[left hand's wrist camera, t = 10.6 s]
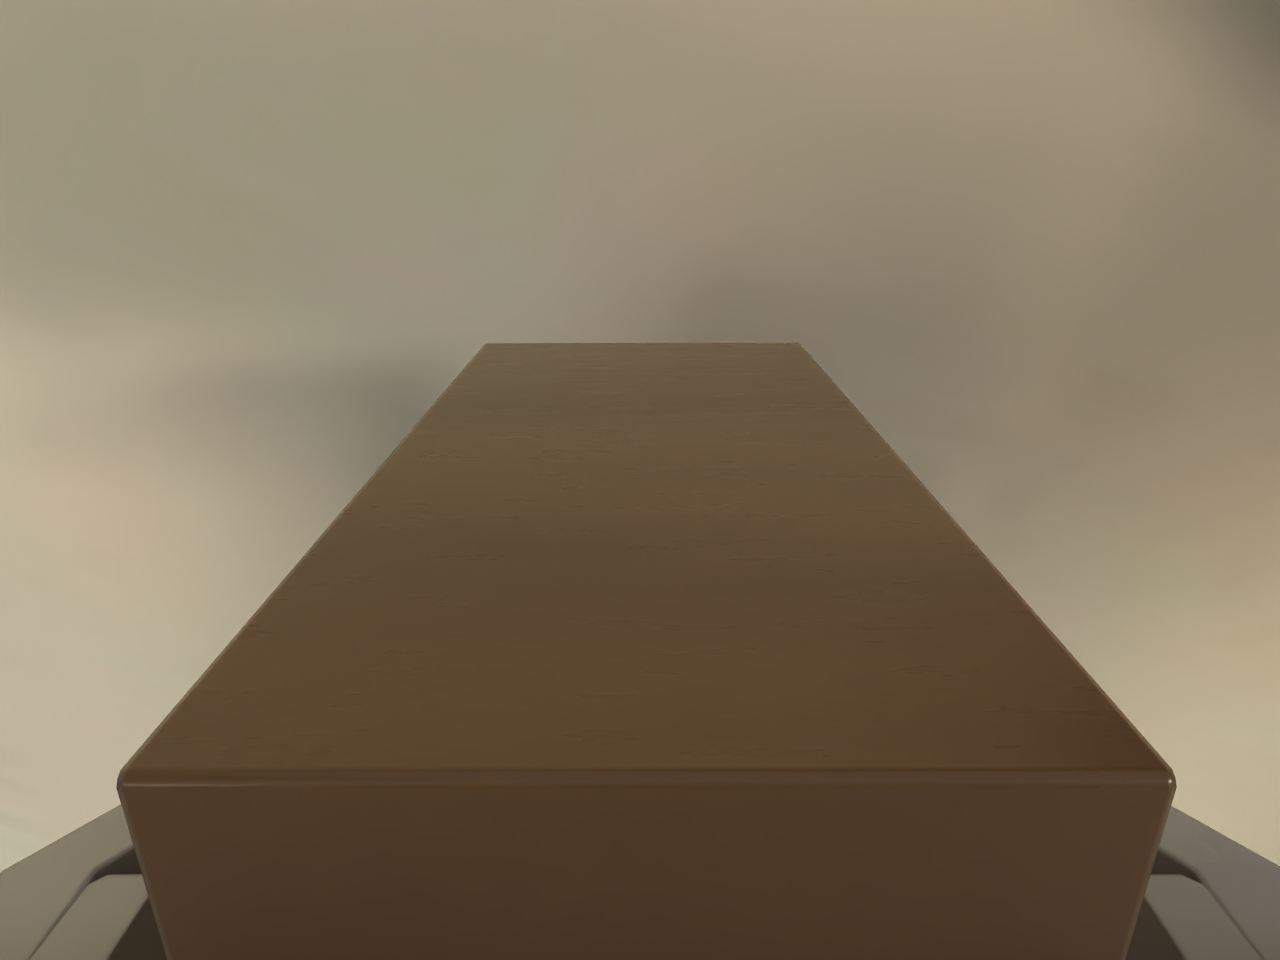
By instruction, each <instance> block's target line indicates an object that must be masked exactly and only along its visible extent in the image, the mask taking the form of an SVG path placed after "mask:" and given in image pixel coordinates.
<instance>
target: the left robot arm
mask: <svg viewBox="0 0 1280 960" xmlns="http://www.w3.org/2000/svg"><path fill="white" fill-rule="evenodd" d="M0 960H167V958H166V955H165V951H164V948H163V945H162V941H161V938H160V934H159V931H158V927H157V924H156V921H155V917H154V914H153V910H152V907H151V904H150V900H149V897H148V893H147V890H146V887H145V883H144V880H143V876H142V873H141V870H140V866H139V863H138V859H137V856H136V852H135V849H134V846H133V842H132V839H131V835H130V832H129V829H128V825H127V822H126V818H125V815H124V812H123V808H122V805H119V806H117V807H116V808H114V809H112V810H110V811H108V812H107V813H105V814H103V815H101V816H100V817H98V818H96V819H94V820H92V821H91V822H89V823H87V824H85V825H84V826H82V827H80V828H78V829H76V830H75V831H73V832H71V833H69V834H68V835H66V836H64V837H62V838H60V839H59V840H57V841H55V842H53V843H52V844H50V845H48V846H46V847H44V848H43V849H41V850H39V851H37V852H36V853H34V854H32V855H30V856H28V857H27V858H25V859H23V860H21V861H20V862H18V863H16V864H14V865H12V866H11V867H9V868H7V869H5V870H3V871H2V872H1V873H0ZM1125 960H1280V866H1278V865H1276V864H1274V863H1272V862H1271V861H1269V860H1267V859H1265V858H1264V857H1262V856H1260V855H1258V854H1256V853H1255V852H1253V851H1251V850H1249V849H1247V848H1246V847H1244V846H1242V845H1240V844H1238V843H1237V842H1235V841H1233V840H1231V839H1229V838H1228V837H1226V836H1224V835H1222V834H1221V833H1219V832H1217V831H1215V830H1213V829H1212V828H1210V827H1208V826H1206V825H1204V824H1203V823H1201V822H1199V821H1197V820H1195V819H1194V818H1192V817H1190V816H1188V815H1187V814H1185V813H1183V812H1181V811H1179V810H1178V809H1176V808H1174V807H1172V806H1171V807H1170V811H1169V814H1168V818H1167V821H1166V824H1165V828H1164V831H1163V834H1162V838H1161V841H1160V845H1159V848H1158V851H1157V855H1156V858H1155V861H1154V865H1153V868H1152V872H1151V875H1150V878H1149V882H1148V885H1147V888H1146V892H1145V895H1144V899H1143V902H1142V905H1141V909H1140V912H1139V915H1138V919H1137V922H1136V926H1135V929H1134V932H1133V936H1132V939H1131V942H1130V946H1129V949H1128V953H1127V956H1126V959H1125Z"/></svg>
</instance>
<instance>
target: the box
mask: <svg viewBox="0 0 1280 960" xmlns="http://www.w3.org/2000/svg"><path fill="white" fill-rule="evenodd" d="M117 791H118V795H119V798H120V801H121V805H122V808H123V812H124V815H125V818H126V822H127V825H128V829H129V832H130V835H131V839H132V842H133V846H134V849H135V852H136V856H137V859H138V863H139V866H140V870H141V873H142V876H143V880H144V883H145V887H146V890H147V893H148V897H149V900H150V904H151V907H152V910H153V914H154V917H155V921H156V924H157V927H158V931H159V934H160V938H161V941H162V945H163V948H164V951H165V955H166V958H167V960H1125V959H1126V956H1127V953H1128V949H1129V946H1130V942H1131V939H1132V936H1133V932H1134V929H1135V926H1136V922H1137V919H1138V915H1139V912H1140V909H1141V905H1142V902H1143V899H1144V895H1145V892H1146V888H1147V885H1148V882H1149V878H1150V875H1151V872H1152V868H1153V865H1154V861H1155V858H1156V855H1157V851H1158V848H1159V845H1160V841H1161V838H1162V834H1163V831H1164V828H1165V824H1166V821H1167V818H1168V814H1169V811H1170V807H1171V804H1172V801H1173V797H1174V794H1175V791H1176V780H1175V776H1174V773H1173V770H1172V769H1171V767H1170V766H1169V765H1168V764H1167V763H1166V762H1165V761H1164V759H1163V758H1162V757H1161V756H1160V755H1159V754H1158V753H1157V751H1156V750H1155V749H1154V748H1153V747H1152V746H1151V745H1150V743H1149V742H1148V741H1147V740H1146V739H1145V738H1144V737H1143V735H1142V734H1141V733H1140V732H1139V731H1138V730H1137V729H1136V727H1135V726H1134V725H1133V724H1132V723H1131V722H1130V721H1129V719H1128V718H1127V717H1126V716H1125V715H1124V714H1123V713H1122V711H1121V710H1120V709H1119V708H1118V707H1117V706H1116V705H1115V703H1114V702H1113V701H1112V700H1111V699H1110V698H1109V697H1108V695H1107V694H1106V693H1105V692H1104V691H1103V690H1102V689H1101V687H1100V686H1099V685H1098V684H1097V683H1096V682H1095V681H1094V679H1093V678H1092V677H1091V676H1090V675H1089V674H1088V673H1087V671H1086V670H1085V669H1084V668H1083V667H1082V666H1081V665H1080V663H1079V662H1078V661H1077V660H1076V659H1075V658H1074V657H1073V655H1072V654H1071V653H1070V652H1069V651H1068V650H1067V649H1066V647H1065V646H1064V645H1063V644H1062V643H1061V642H1060V641H1059V639H1058V638H1057V637H1056V636H1055V635H1054V634H1053V633H1052V631H1051V630H1050V629H1049V628H1048V627H1047V626H1046V625H1045V623H1044V622H1043V621H1042V620H1041V619H1040V618H1039V617H1038V615H1037V614H1036V613H1035V612H1034V611H1033V610H1032V609H1031V607H1030V606H1029V605H1028V604H1027V603H1026V602H1025V601H1024V599H1023V598H1022V597H1021V596H1020V595H1019V594H1018V593H1017V591H1016V590H1015V589H1014V588H1013V587H1012V586H1011V585H1010V583H1009V582H1008V581H1007V580H1006V579H1005V578H1004V577H1003V575H1002V574H1001V573H1000V572H999V571H998V570H997V569H996V567H995V566H994V565H993V564H992V563H991V562H990V561H989V559H988V558H987V557H986V556H985V555H984V554H983V553H982V551H981V550H980V549H979V548H978V547H977V546H976V545H975V543H974V542H973V541H972V540H971V539H970V538H969V537H968V535H967V534H966V533H965V532H964V531H963V530H962V529H961V527H960V526H959V525H958V524H957V523H956V522H955V520H954V519H953V518H952V517H951V516H950V515H949V514H948V512H947V511H946V510H945V509H944V508H943V507H942V506H941V504H940V503H939V502H938V501H937V500H936V499H935V498H934V496H933V495H932V494H931V493H930V492H929V491H928V490H927V488H926V487H925V486H924V485H923V484H922V483H921V482H920V480H919V479H918V478H917V477H916V476H915V475H914V474H913V472H912V471H911V470H910V469H909V468H908V467H907V466H906V464H905V463H904V462H903V461H902V460H901V459H900V458H899V456H898V455H897V454H896V453H895V452H894V451H893V450H892V448H891V447H890V446H889V445H888V444H887V443H886V442H885V440H884V439H883V438H882V437H881V436H880V435H879V434H878V432H877V431H876V430H875V429H874V428H873V427H872V426H871V424H870V423H869V422H868V421H867V420H866V419H865V418H864V416H863V415H862V414H861V413H860V412H859V411H858V410H857V408H856V407H855V406H854V405H853V404H852V403H851V402H850V400H849V399H848V398H847V397H846V396H845V395H844V394H843V392H842V391H841V390H840V389H839V388H838V387H837V386H836V384H835V383H834V382H833V381H832V380H831V379H830V378H829V376H828V375H827V374H826V373H825V372H824V371H823V370H822V368H821V367H820V366H819V365H818V364H817V363H816V362H815V360H814V359H813V358H812V357H811V356H810V355H809V354H808V352H807V351H806V350H805V349H804V348H803V347H802V346H801V344H798V343H488V344H485V345H484V346H483V347H482V348H481V350H480V351H479V352H478V353H477V354H476V355H475V357H474V358H473V359H472V360H471V361H470V362H469V364H468V365H467V366H466V367H465V368H464V369H463V371H462V372H461V373H460V374H459V375H458V376H457V378H456V379H455V380H454V381H453V382H452V383H451V385H450V386H449V387H448V388H447V389H446V390H445V392H444V393H443V394H442V395H441V396H440V397H439V399H438V400H437V401H436V402H435V403H434V404H433V406H432V407H431V408H430V409H429V410H428V411H427V413H426V414H425V415H424V416H423V417H422V418H421V420H420V421H419V422H418V423H417V424H416V426H415V427H414V428H413V429H412V430H411V431H410V433H409V434H408V435H407V436H406V437H405V438H404V440H403V441H402V442H401V443H400V444H399V445H398V447H397V448H396V449H395V450H394V451H393V452H392V454H391V455H390V456H389V457H388V458H387V459H386V461H385V462H384V463H383V464H382V465H381V466H380V468H379V469H378V470H377V471H376V472H375V473H374V475H373V476H372V477H371V478H370V479H369V480H368V482H367V483H366V484H365V485H364V486H363V487H362V489H361V490H360V491H359V492H358V493H357V494H356V496H355V497H354V498H353V499H352V500H351V501H350V503H349V504H348V505H347V506H346V507H345V509H344V510H343V511H342V512H341V513H340V514H339V516H338V517H337V518H336V519H335V520H334V521H333V523H332V524H331V525H330V526H329V527H328V528H327V530H326V531H325V532H324V533H323V534H322V535H321V537H320V538H319V539H318V540H317V541H316V542H315V544H314V545H313V546H312V547H311V548H310V549H309V551H308V552H307V553H306V554H305V555H304V556H303V558H302V559H301V560H300V561H299V562H298V563H297V565H296V566H295V567H294V568H293V569H292V570H291V572H290V573H289V574H288V575H287V576H286V577H285V579H284V580H283V581H282V582H281V583H280V584H279V586H278V587H277V588H276V589H275V590H274V592H273V593H272V594H271V595H270V596H269V597H268V599H267V600H266V601H265V602H264V603H263V604H262V606H261V607H260V608H259V609H258V610H257V611H256V613H255V614H254V615H253V616H252V617H251V618H250V620H249V621H248V622H247V623H246V624H245V625H244V627H243V628H242V629H241V630H240V631H239V632H238V634H237V635H236V636H235V637H234V638H233V639H232V641H231V642H230V643H229V644H228V645H227V646H226V648H225V649H224V650H223V651H222V652H221V653H220V655H219V656H218V657H217V658H216V659H215V660H214V662H213V663H212V664H211V665H210V666H209V667H208V669H207V670H206V671H205V672H204V673H203V674H202V676H201V677H200V678H199V679H198V680H197V682H196V683H195V684H194V685H193V686H192V687H191V689H190V690H189V691H188V692H187V693H186V694H185V696H184V697H183V698H182V699H181V700H180V701H179V703H178V704H177V705H176V706H175V707H174V708H173V710H172V711H171V712H170V713H169V714H168V715H167V717H166V718H165V719H164V720H163V721H162V722H161V724H160V725H159V726H158V727H157V728H156V729H155V731H154V732H153V733H152V734H151V735H150V736H149V738H148V739H147V740H146V741H145V742H144V743H143V745H142V746H141V747H140V748H139V749H138V750H137V752H136V753H135V754H134V755H133V756H132V757H131V759H130V760H129V761H128V762H127V763H126V765H125V766H124V767H123V768H122V769H121V771H120V774H119V776H118V780H117Z"/></svg>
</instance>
